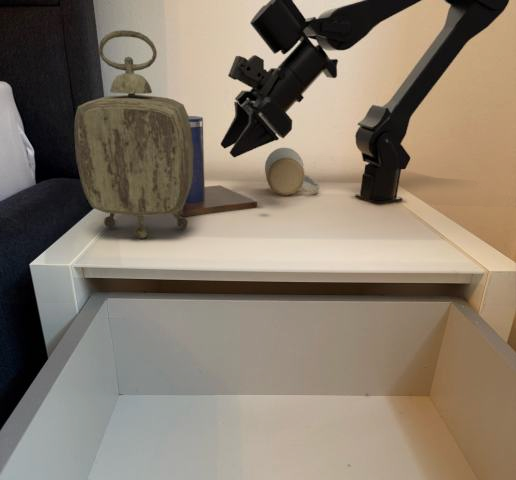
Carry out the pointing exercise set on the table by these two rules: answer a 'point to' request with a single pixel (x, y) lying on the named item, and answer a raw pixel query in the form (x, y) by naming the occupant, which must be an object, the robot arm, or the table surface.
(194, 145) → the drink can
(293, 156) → the ceramic mug
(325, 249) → the table surface
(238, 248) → the table surface
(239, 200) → the desk pad
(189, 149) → the tabletop clock
